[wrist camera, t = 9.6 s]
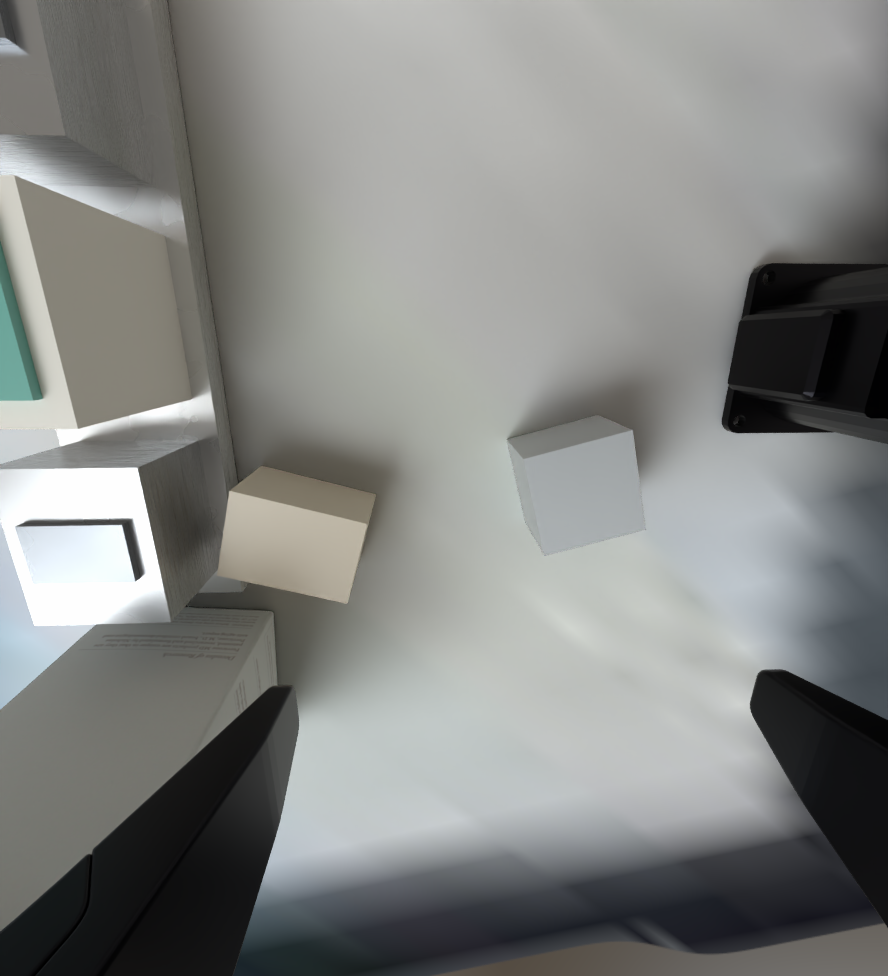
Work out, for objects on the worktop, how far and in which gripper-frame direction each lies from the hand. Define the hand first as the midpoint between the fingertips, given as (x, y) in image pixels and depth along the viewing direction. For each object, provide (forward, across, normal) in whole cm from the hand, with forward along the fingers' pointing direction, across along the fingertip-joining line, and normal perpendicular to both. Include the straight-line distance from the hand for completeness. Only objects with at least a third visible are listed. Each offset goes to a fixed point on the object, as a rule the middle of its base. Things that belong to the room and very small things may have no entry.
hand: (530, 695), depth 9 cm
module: (+11, +13, -7) cm, 18 cm away
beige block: (+12, +7, +1) cm, 14 cm away
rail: (+12, +13, -7) cm, 19 cm away
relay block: (+12, -4, -1) cm, 13 cm away
